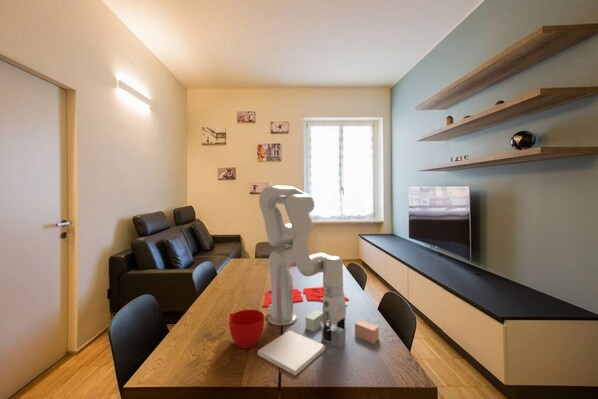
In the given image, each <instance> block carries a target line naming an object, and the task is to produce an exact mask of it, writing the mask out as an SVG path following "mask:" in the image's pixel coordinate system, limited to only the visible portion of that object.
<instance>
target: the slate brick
mask: <svg viewBox="0 0 598 399" xmlns="http://www.w3.org/2000/svg"><path fill="white" fill-rule="evenodd" d="M326 325H327V326H328V325H329V323H326ZM330 330H331V336H332V341H331V342H330V341H327V340H325V339H324V338H323V329H322V328H321V340H322V341H324V342H327V343H328V344H331V345H333V346H336V347H338V348H341V347H342V346H343V345H344V344H346V328H345V329H342V328H339V327H337V325H335V324H332V326H331V329H330Z"/></svg>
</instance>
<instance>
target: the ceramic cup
mask: <svg viewBox="0 0 598 399" xmlns="http://www.w3.org/2000/svg"><path fill="white" fill-rule="evenodd" d="M228 318H229V319H228V325H229V332H230V336H231V338H232V340H233V341H234V343H235V344H236V345H237V346H238V347H239V348H241V349H249V348H252V347H254V346H255V345H256V344H257V343H258V342H259V340H260V339H261V337H262V335H263V330H264V326H265V315H264V313H263V312H262V311H260V310H258V309H243V310H238V311H236V312H232V313H230V314H229V316H228Z"/></svg>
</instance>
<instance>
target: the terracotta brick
mask: <svg viewBox="0 0 598 399" xmlns="http://www.w3.org/2000/svg"><path fill="white" fill-rule="evenodd" d="M379 330H380V328H379V326H378V325H376V324H372V323H370V322H367V321H365V320H362V319H361V320H360V319H359V320H358V321H356V322H355V323H354V336H355V337H357V338H359V339H362V340H364V341H366V342H369V343H370V344H371V343H372V344H375V343H376V342H377V341H379V339H380V336H379V334H380V333H379V332H380V331H379Z"/></svg>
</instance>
